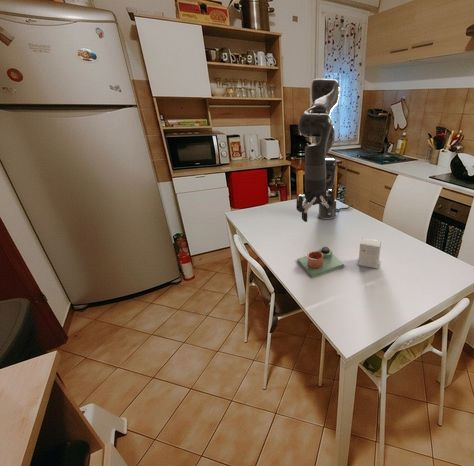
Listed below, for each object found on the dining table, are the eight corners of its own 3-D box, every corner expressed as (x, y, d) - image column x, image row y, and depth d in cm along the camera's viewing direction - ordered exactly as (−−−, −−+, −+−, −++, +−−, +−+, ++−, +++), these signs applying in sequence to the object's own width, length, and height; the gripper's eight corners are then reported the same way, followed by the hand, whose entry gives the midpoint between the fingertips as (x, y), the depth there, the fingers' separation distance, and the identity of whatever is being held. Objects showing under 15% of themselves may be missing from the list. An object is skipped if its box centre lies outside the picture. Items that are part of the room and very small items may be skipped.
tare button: (326, 249, 116) (326, 246, 116) (330, 252, 114) (330, 249, 113) (320, 251, 115) (320, 247, 114) (324, 254, 112) (324, 251, 112)
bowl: (318, 258, 112) (318, 249, 110) (326, 266, 107) (326, 256, 105) (304, 262, 109) (304, 253, 107) (312, 270, 104) (312, 261, 102)
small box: (379, 261, 113) (381, 240, 108) (377, 269, 108) (380, 247, 103) (360, 258, 115) (362, 237, 110) (357, 265, 110) (359, 243, 106)
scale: (327, 252, 119) (327, 246, 118) (343, 266, 109) (344, 260, 108) (297, 261, 113) (297, 255, 111) (312, 277, 103) (312, 271, 101)
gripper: (301, 182, 85) (302, 226, 93) (338, 176, 91) (336, 218, 99) (292, 176, 91) (293, 219, 98) (327, 171, 97) (326, 211, 105)
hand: (315, 218), depth 99 cm, fingers open, 8 cm apart
